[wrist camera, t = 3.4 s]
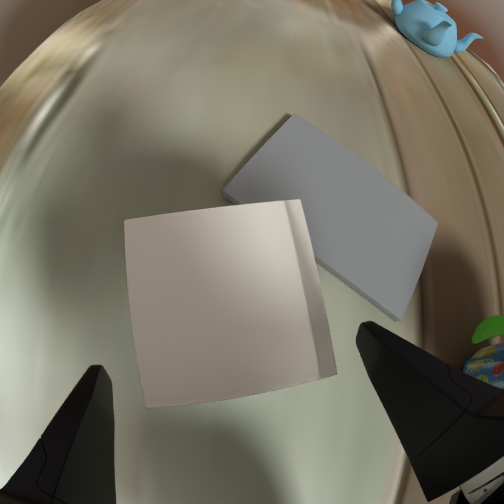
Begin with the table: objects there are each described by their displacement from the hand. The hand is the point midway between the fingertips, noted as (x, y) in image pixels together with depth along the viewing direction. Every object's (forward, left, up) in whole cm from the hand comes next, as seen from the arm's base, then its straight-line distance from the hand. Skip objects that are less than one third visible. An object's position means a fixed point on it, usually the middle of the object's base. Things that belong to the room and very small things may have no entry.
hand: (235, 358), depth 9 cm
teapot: (0, -59, -9) cm, 60 cm away
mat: (-2, -13, -9) cm, 16 cm away
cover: (+1, -1, -9) cm, 9 cm away
